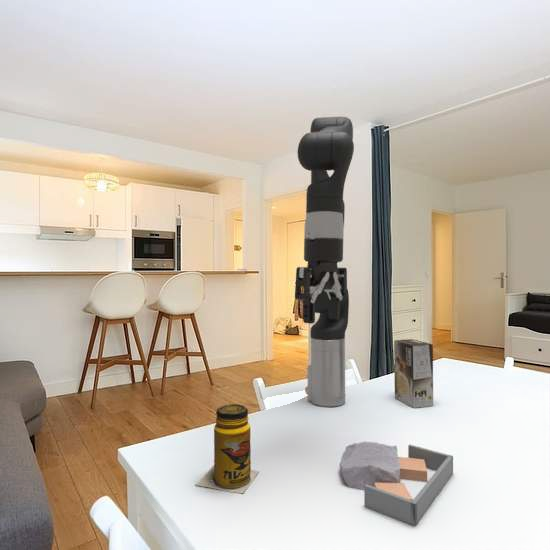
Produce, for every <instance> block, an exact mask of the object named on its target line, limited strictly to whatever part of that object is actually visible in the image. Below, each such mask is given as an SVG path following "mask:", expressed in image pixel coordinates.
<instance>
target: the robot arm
mask: <svg viewBox="0 0 550 550" xmlns="http://www.w3.org/2000/svg"><path fill="white" fill-rule="evenodd" d="M351 120H352V119H350V118H348V117H347V116H329V117H316V118H314V119H313V120H312V121H311V125H310V130H309V131H310V132H307V133H305V134H303V136H302V137H301V139H300V141H299V143H298V146H297V159H298V161H299V164H300V165H301V167H302V168H303V169H305V170H306V171H310V184H309V185H308V186H307V188H306V194H305V195H306V198H305V200H306V204H305V207H306V208H305V209H306V210H305V220H304V234H303V235H304V237H303V238H304V239H303V260H304V262H307V265H306V266H297V267H296V272H295V287H294V299H295V300H298V301H301V303H302V321H303V323H305V324H309V325H312V324H313V325H312V326H311V327H310V332H309V333H310V338H309V339H310V363H309V364H308V365H307V401H308V402H311V403H312V404H314V405H316V406H320V407H328V408H329V407H339V406H340V407H341V406H342V405H345V404H346V331H347V328H348V325H349V313H350V312H349V310H350V308H349V307H350V296H349V295H350V294H349V290H348V289H349V288H348V269H347V268H346V267H338V263H341V262H343V259H344V233H345V231H344V229H345V213H346V212H345V209H346V208H345V207H346V206H345V202H344V190H345V189H344V188H345V183H346V181H347V175H348V172H349V169H350V166H351V163H352V159H353V156H354V152H355V149H354V148H355V147H354V146H355V144H354V140H353V139H354V127H353V122H352V121H351ZM328 171H333V173H332V174H331V175H329V172H328ZM302 287H303V291H302ZM316 314H319V316H318V319H317V321H316Z"/></svg>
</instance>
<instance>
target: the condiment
mask: <svg viewBox="0 0 550 550" xmlns="http://www.w3.org/2000/svg"><path fill="white" fill-rule="evenodd" d="M215 412H216V413H215V414H216V419H215V425H214V427H213V428H214V429H213V446H214V447H213V452H214V453H213V456H214V457H213V458H214V460H213V465H212V467H210V469H209V470H208V471H207V472H206V473H205V475H204V476H203V477H201V478H200V479H199V480H198V481H197V482H196V483H195V484H194V485H195V486H199V487H203V488H204V487H205V488H210V489H211V488H212V489H214V490H215V489H216V490H219V491H224V492H230V493H236V494H244V493H245V492H246V490H247V489H249V487H250V485H251V484H252V482H254V479H255V478H256V476H257V475H258V473H259V472H260V470H254V469H252V467H251V464H252V462H251V461H252V460H251V457H252V456H251V452H252V451H251V447H252V446H251V424H250V423H249V410H248V408H247V407H246V406H245V405H242V404H237V403H229V404H224V405H222V406H219V407H218V408H217V410H216V411H215Z"/></svg>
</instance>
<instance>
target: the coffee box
mask: <svg viewBox="0 0 550 550" xmlns="http://www.w3.org/2000/svg"><path fill="white" fill-rule="evenodd" d="M393 347H394V348H393V350H394V353H393V354H394V355H393V358H394V360H393V362H394V363H393V366H394V374H393V375H394V398H395V400H398V401H400V402H402V403H404V404H406V405H407V406H410V407H412V408H413V409H416V408H424V407H426V408H427V407H434V352H433V351H434V350H433V349H434V345H433V343H429V342H425V341H421V340H417V339H411V338H410V339H397V340H396V339H395V340H393Z"/></svg>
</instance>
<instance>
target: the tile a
mask: <svg viewBox="0 0 550 550" xmlns="http://www.w3.org/2000/svg"><path fill="white" fill-rule="evenodd" d="M374 487H376V488H379V489H381V490H384V491H387V492H390V493H393V494H395V495H398V496H401V497H404V498H407V499H410V500H413V499H414V498H413V497H412V496H411V494H410V492H409V490H408V488H407V486H406V484H405V483H404V482H400V483H374Z"/></svg>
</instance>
